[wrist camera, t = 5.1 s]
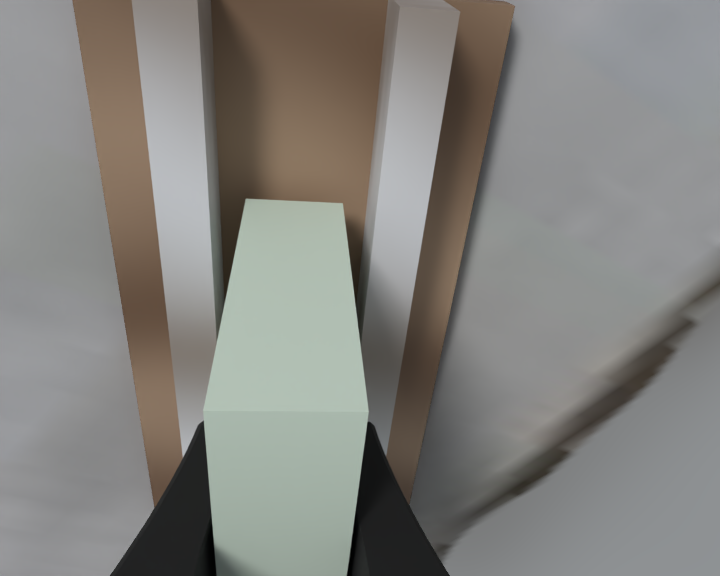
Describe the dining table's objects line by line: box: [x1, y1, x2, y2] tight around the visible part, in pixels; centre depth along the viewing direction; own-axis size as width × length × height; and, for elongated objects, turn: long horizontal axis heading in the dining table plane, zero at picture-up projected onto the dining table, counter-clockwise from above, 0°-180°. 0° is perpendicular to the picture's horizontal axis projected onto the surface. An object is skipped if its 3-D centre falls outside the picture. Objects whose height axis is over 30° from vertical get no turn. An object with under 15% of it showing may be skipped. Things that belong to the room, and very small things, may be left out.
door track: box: [73, 0, 515, 507], centre depth 14 cm, size 16×8×2 cm, turn 175°
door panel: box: [203, 199, 369, 576], centre depth 12 cm, size 8×2×6 cm, turn 175°
